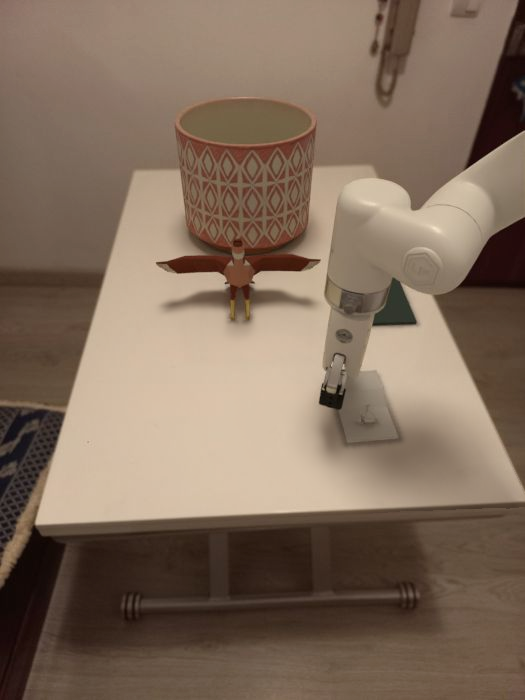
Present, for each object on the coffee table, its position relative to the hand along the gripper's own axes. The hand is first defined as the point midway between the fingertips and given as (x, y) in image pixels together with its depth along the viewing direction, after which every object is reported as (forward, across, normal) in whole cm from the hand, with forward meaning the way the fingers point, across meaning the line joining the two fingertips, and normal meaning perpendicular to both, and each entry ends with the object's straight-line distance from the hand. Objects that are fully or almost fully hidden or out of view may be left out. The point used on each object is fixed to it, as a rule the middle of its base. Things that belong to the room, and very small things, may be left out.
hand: (337, 380), depth 67 cm
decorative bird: (+5, +17, +22) cm, 28 cm away
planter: (+5, +43, +30) cm, 52 cm away
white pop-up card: (+4, 0, -4) cm, 6 cm away
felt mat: (+4, +28, -1) cm, 28 cm away
